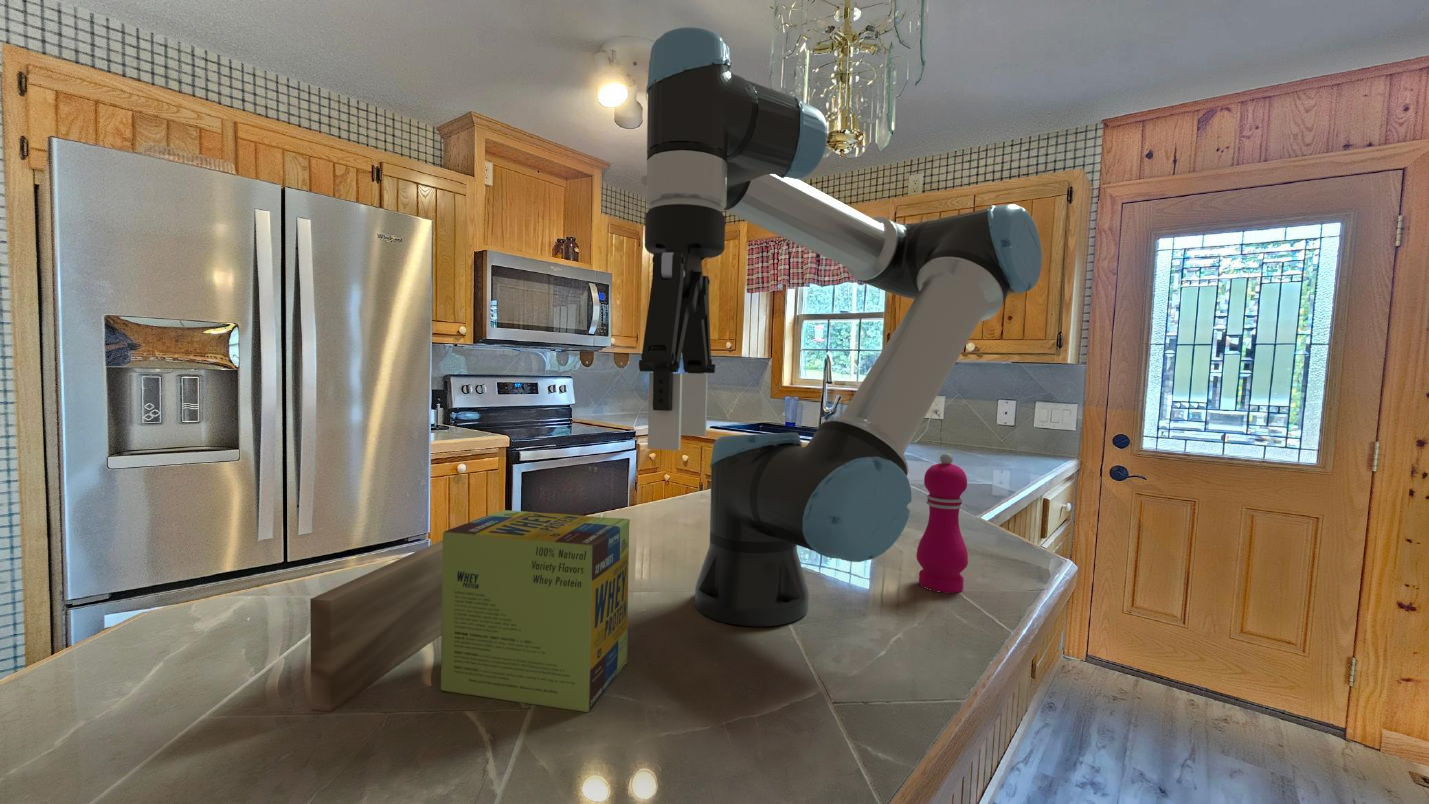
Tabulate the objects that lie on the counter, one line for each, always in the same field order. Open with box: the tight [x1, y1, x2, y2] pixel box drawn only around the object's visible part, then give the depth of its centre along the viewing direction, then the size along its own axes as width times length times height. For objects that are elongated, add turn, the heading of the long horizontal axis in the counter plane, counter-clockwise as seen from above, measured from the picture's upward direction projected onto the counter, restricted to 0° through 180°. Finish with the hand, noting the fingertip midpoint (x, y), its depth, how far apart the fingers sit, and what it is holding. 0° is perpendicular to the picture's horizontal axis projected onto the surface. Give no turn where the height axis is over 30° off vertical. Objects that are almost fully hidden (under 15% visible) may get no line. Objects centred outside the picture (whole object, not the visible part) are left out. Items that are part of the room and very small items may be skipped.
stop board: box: [309, 539, 443, 713], centre depth 65 cm, size 2×20×10 cm, turn 171°
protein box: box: [440, 509, 631, 713], centre depth 62 cm, size 10×15×16 cm
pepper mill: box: [916, 452, 969, 594], centre depth 93 cm, size 7×7×20 cm
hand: (679, 441), depth 59 cm, fingers open, 12 cm apart
